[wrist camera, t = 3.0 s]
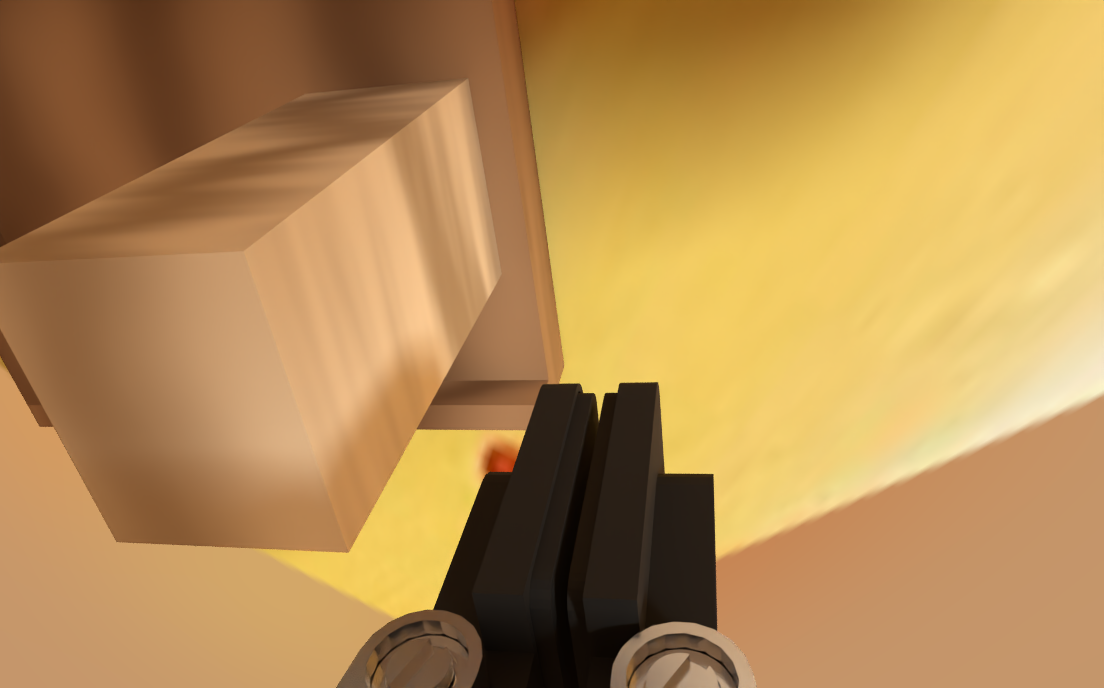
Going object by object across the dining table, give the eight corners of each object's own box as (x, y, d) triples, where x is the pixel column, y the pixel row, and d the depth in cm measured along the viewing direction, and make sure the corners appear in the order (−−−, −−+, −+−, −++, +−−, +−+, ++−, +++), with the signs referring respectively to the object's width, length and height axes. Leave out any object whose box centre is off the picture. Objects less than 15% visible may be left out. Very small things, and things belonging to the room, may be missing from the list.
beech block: (468, 78, 21) (243, 251, 11) (501, 273, 24) (348, 553, 14) (305, 93, 22) (-36, 265, 12) (356, 279, 25) (117, 541, 15)
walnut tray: (495, -136, 21) (452, -141, 17) (564, 366, 28) (544, 430, 25) (-91, -42, 25) (-216, -31, 22) (109, 371, 33) (39, 426, 29)
